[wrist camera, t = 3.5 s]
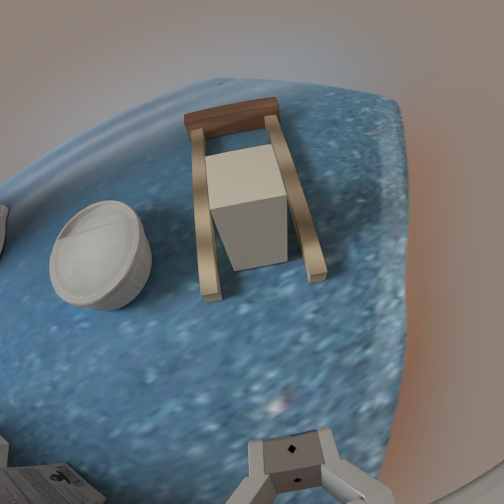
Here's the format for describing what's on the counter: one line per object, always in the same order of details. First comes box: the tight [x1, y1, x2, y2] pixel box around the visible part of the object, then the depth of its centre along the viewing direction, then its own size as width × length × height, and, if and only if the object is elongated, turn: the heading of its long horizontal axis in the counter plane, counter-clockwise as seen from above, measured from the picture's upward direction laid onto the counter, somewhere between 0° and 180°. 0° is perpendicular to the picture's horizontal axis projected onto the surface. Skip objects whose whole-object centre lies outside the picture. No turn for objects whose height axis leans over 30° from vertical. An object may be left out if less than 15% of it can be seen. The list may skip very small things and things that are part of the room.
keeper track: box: [184, 97, 327, 303], centre depth 31 cm, size 24×12×4 cm, turn 9°
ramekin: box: [50, 200, 152, 311], centre depth 28 cm, size 11×11×5 cm
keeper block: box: [205, 144, 287, 271], centre depth 25 cm, size 5×5×10 cm
